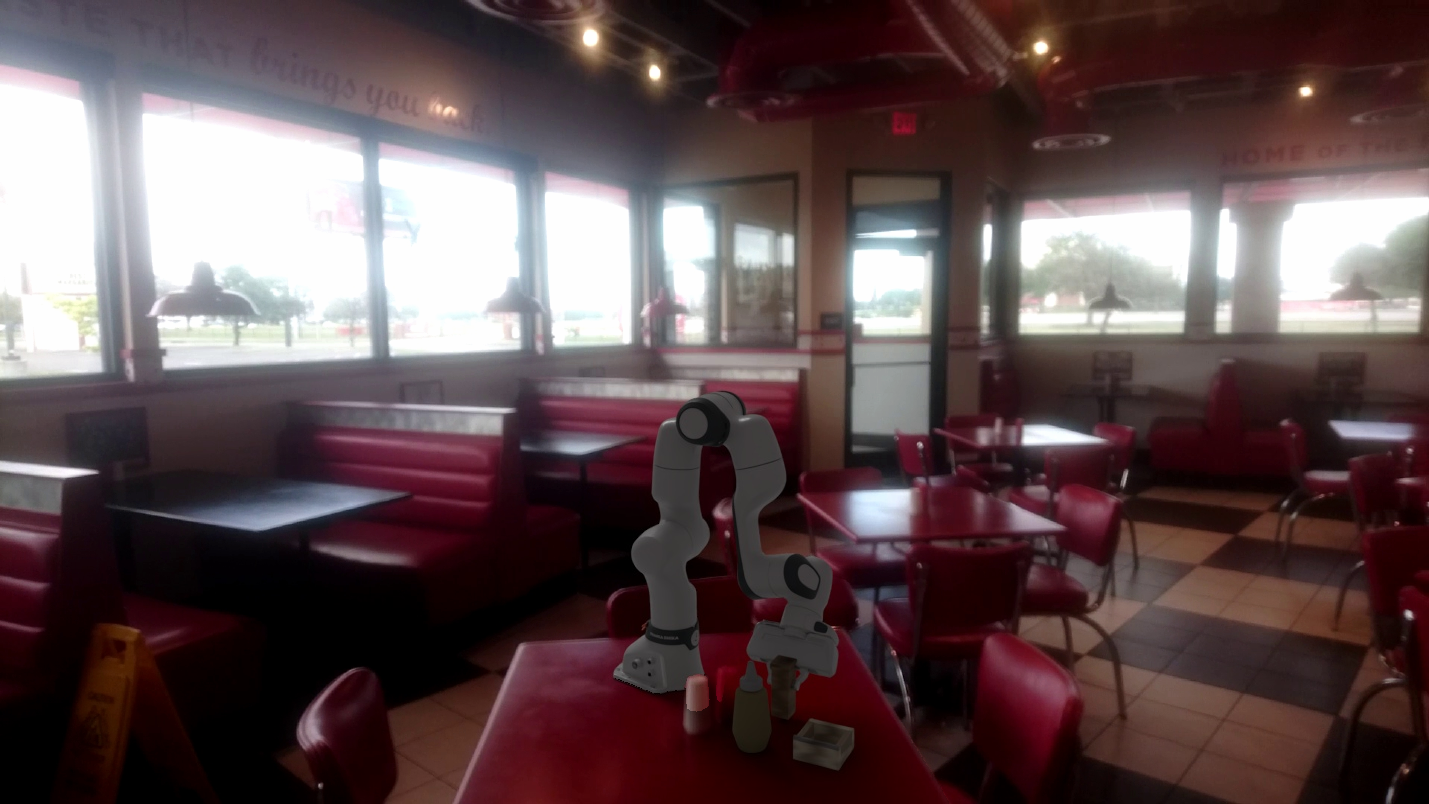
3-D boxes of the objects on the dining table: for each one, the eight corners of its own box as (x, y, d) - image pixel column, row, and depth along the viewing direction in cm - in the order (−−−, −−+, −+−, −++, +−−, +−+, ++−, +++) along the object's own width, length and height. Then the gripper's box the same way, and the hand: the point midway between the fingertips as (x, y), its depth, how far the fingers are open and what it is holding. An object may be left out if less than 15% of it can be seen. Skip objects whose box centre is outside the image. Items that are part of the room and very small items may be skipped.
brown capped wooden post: (769, 715, 176) (770, 662, 174) (777, 706, 180) (778, 654, 178) (788, 720, 174) (789, 666, 172) (796, 711, 178) (797, 658, 176)
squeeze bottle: (769, 758, 161) (768, 671, 159) (729, 755, 163) (727, 669, 161) (774, 737, 169) (773, 654, 167) (736, 734, 171) (734, 652, 169)
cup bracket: (793, 758, 161) (793, 735, 161) (810, 736, 169) (810, 714, 169) (838, 770, 157) (838, 747, 156) (854, 747, 165) (854, 724, 164)
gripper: (753, 612, 185) (734, 670, 178) (839, 629, 176) (823, 691, 168) (761, 624, 190) (743, 681, 182) (845, 641, 180) (830, 702, 173)
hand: (782, 686), depth 175 cm, fingers closed on brown capped wooden post, 4 cm apart
